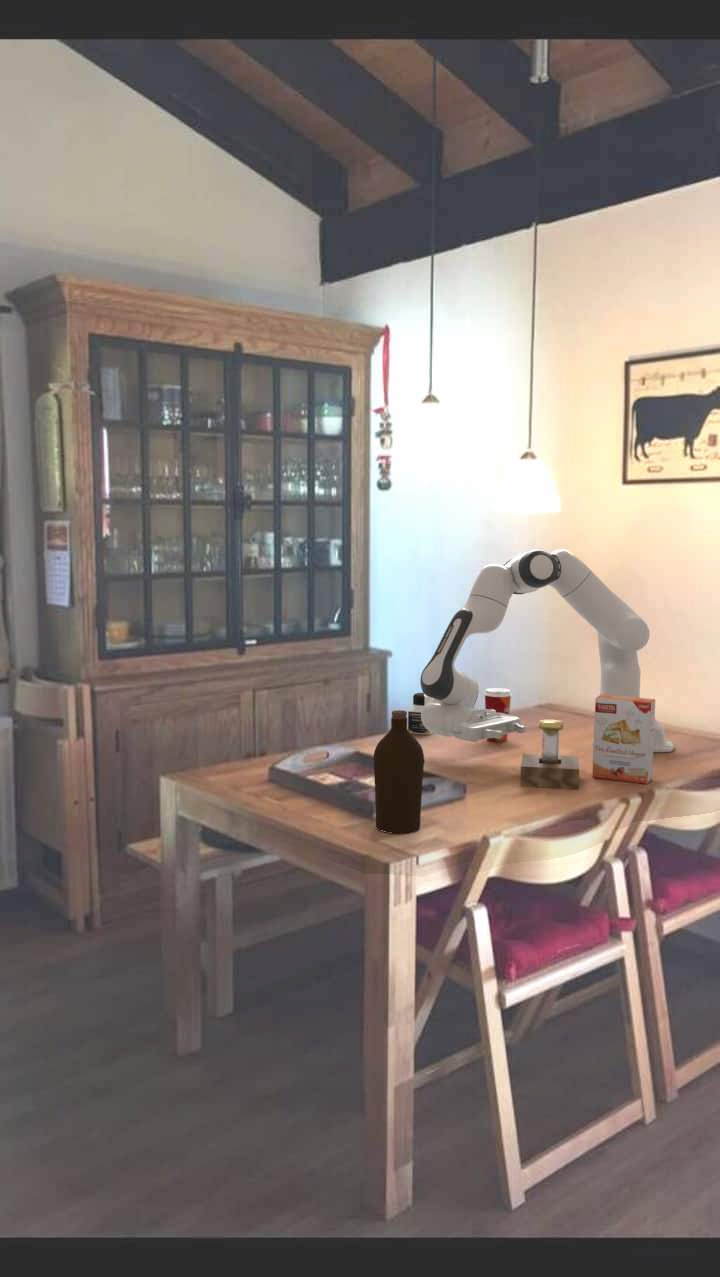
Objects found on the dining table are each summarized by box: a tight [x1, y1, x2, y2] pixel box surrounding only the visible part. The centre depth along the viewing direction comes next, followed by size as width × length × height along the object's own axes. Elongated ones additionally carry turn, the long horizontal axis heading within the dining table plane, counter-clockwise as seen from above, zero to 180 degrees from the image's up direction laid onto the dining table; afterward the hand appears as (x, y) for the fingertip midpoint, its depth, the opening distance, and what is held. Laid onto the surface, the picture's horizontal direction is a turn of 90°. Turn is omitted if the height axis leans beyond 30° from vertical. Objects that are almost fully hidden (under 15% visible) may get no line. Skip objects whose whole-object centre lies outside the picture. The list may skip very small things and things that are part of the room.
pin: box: [538, 719, 564, 764], centre depth 260 cm, size 6×6×15 cm
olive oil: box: [373, 709, 425, 834], centre depth 219 cm, size 11×11×25 cm
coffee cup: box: [483, 687, 513, 743], centre depth 308 cm, size 8×8×15 cm
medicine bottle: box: [407, 692, 434, 736], centre depth 318 cm, size 7×7×12 cm
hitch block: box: [519, 753, 580, 790], centre depth 260 cm, size 14×14×5 cm
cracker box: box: [591, 694, 656, 785], centre depth 262 cm, size 14×6×21 cm, turn 63°
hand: (512, 732), depth 268 cm, fingers open, 8 cm apart
